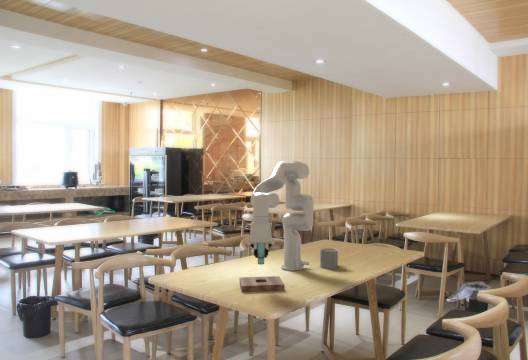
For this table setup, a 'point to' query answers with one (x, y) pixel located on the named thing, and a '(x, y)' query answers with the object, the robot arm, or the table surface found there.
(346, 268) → the table surface
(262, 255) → the teal peg
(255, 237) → the robot arm
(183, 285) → the table surface
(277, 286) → the walnut board
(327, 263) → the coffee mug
